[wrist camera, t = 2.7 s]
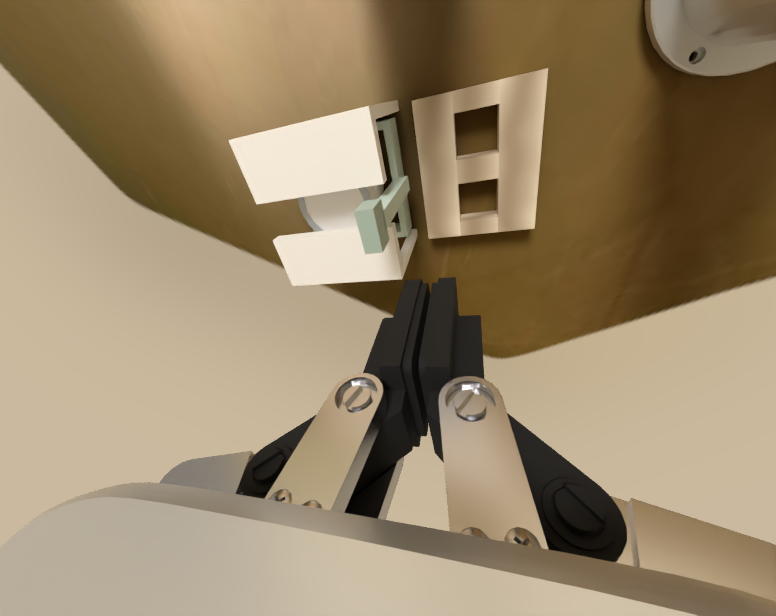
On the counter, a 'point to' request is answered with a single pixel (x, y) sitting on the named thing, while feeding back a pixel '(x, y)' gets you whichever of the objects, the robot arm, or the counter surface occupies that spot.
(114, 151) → the counter surface
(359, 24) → the counter surface
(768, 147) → the counter surface
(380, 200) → the slider
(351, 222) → the white cup
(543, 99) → the board
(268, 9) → the counter surface
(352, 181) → the tunnel
